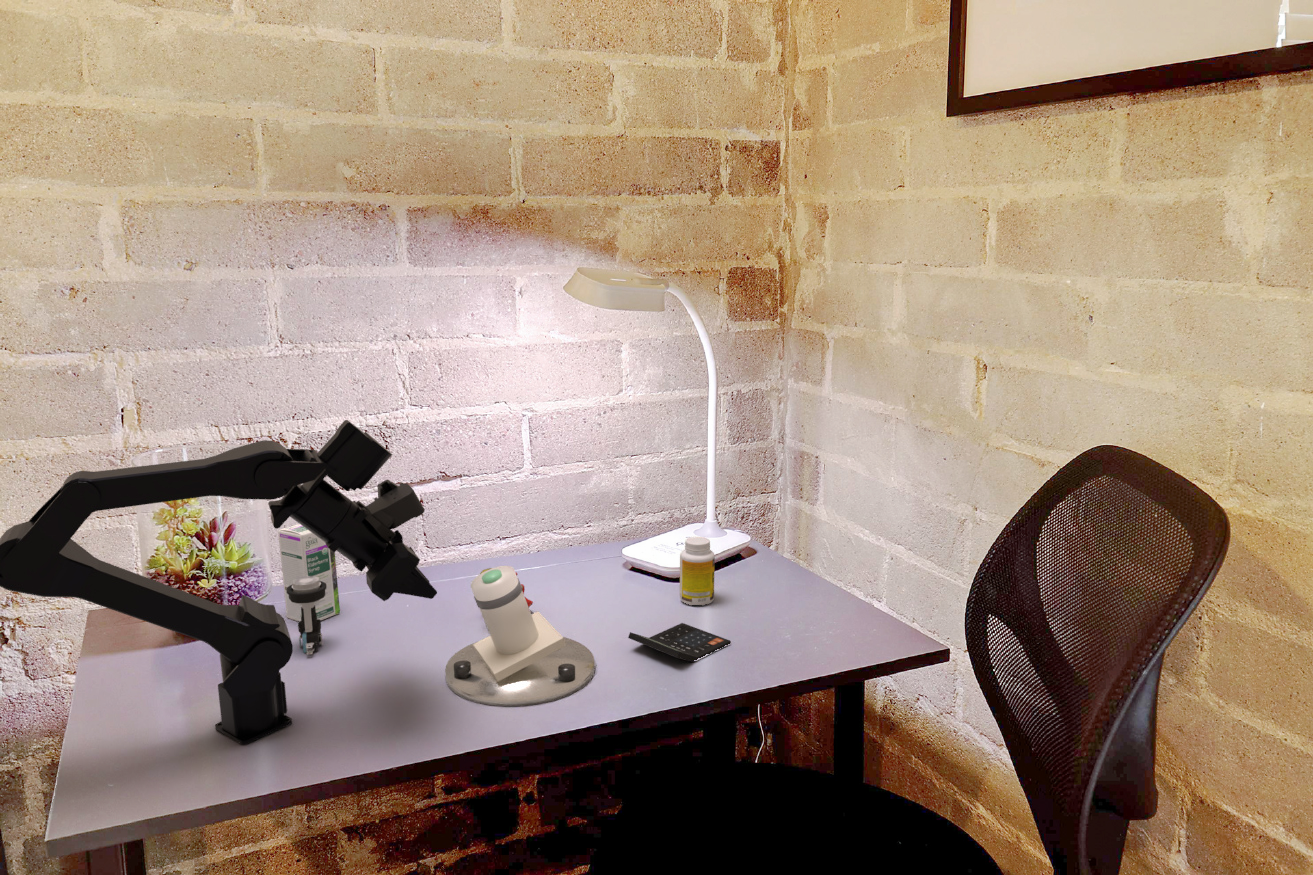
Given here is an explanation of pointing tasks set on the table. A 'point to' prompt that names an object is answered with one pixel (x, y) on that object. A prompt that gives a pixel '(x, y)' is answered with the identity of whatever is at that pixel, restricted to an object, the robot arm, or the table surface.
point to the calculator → (683, 642)
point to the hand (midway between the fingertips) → (430, 590)
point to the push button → (308, 609)
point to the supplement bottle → (697, 572)
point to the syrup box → (308, 569)
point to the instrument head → (510, 624)
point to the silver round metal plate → (521, 677)
